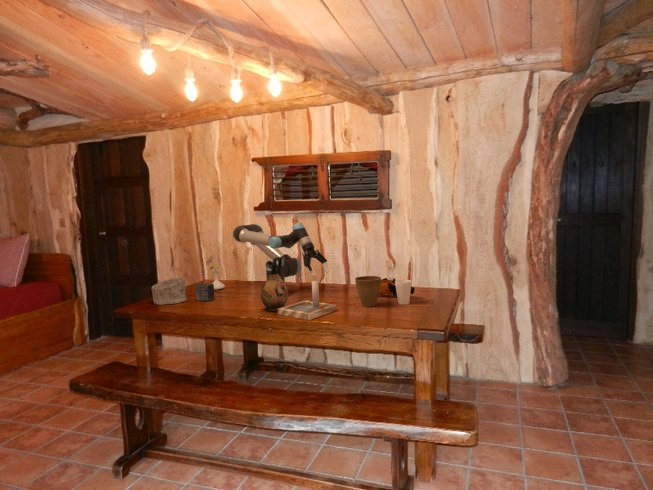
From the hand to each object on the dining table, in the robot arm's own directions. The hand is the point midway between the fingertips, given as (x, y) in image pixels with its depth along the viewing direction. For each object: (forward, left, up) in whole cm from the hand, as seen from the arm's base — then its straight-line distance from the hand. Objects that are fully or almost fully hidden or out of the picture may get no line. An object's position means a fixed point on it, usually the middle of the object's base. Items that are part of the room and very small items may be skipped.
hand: (321, 273), depth 282 cm
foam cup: (+53, +10, -15) cm, 56 cm away
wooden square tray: (+17, -34, -15) cm, 41 cm away
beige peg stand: (+17, -34, -15) cm, 41 cm away
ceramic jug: (-4, -37, -15) cm, 40 cm away
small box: (-60, -44, -15) cm, 76 cm away
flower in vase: (-81, -19, -15) cm, 85 cm away
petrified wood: (-76, -59, -15) cm, 98 cm away
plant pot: (+38, -4, -15) cm, 41 cm away
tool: (+42, +20, -15) cm, 49 cm away
